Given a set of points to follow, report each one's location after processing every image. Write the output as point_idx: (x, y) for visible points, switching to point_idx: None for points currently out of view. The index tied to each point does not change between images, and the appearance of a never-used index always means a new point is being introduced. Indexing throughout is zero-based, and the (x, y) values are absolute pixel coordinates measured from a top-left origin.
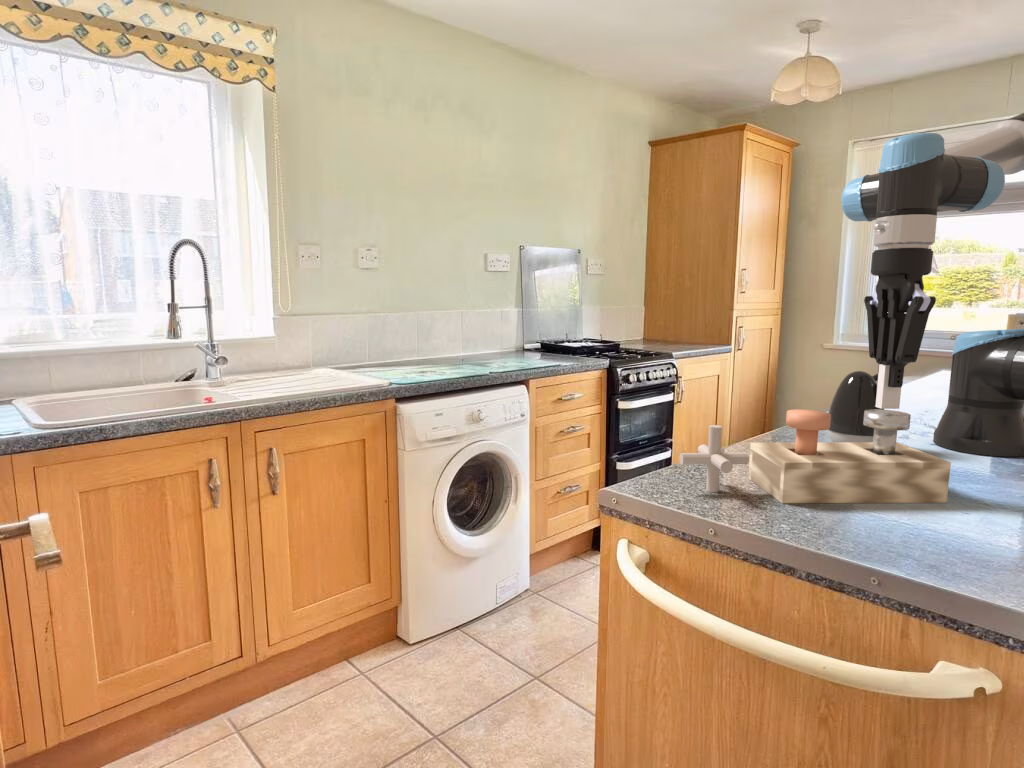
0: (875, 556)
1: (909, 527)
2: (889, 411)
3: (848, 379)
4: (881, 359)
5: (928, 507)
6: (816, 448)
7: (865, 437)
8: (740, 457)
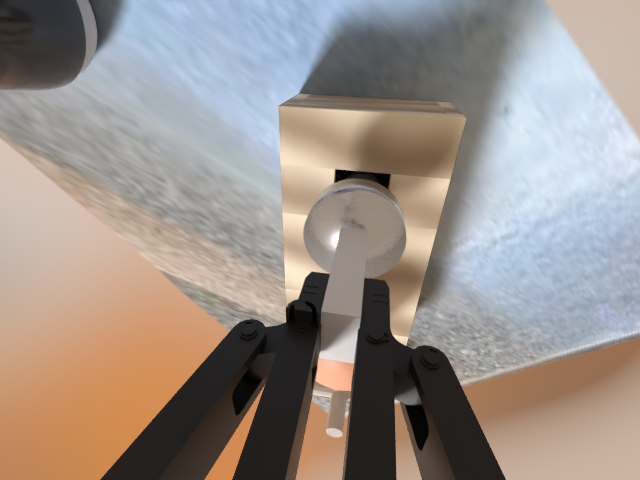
0: (574, 328)
1: (521, 241)
2: (332, 219)
3: None
4: (316, 370)
5: (461, 154)
6: None
7: (85, 25)
8: None
